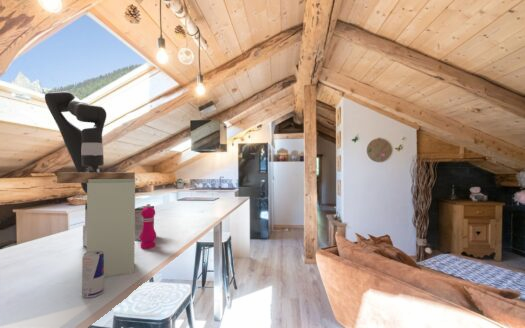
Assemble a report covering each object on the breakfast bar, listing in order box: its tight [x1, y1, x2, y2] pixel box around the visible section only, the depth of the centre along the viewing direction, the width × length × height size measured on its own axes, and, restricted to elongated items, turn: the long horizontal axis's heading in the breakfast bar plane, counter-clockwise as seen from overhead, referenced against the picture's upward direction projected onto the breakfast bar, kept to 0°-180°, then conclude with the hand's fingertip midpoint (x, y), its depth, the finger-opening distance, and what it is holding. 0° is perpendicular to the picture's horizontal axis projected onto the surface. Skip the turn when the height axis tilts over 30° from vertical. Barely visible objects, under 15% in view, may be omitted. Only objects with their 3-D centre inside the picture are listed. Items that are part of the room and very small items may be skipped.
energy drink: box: [81, 251, 105, 299], centre depth 77 cm, size 5×5×12 cm
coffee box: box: [135, 205, 155, 241], centre depth 137 cm, size 9×6×16 cm
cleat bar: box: [56, 171, 136, 184], centre depth 92 cm, size 23×4×4 cm, turn 114°
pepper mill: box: [139, 203, 157, 250], centre depth 122 cm, size 7×7×20 cm
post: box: [86, 179, 136, 278], centre depth 94 cm, size 14×10×33 cm
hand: (93, 193), depth 106 cm, fingers open, 8 cm apart
